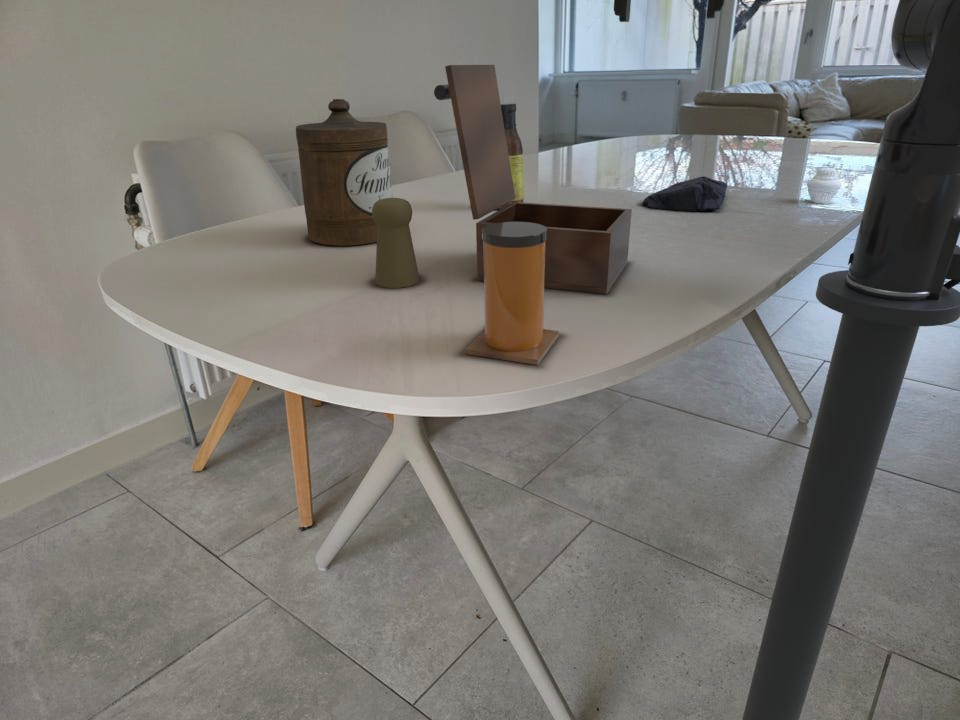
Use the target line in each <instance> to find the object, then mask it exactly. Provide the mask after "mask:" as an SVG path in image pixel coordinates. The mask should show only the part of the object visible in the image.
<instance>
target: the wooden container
mask: <svg viewBox="0 0 960 720" xmlns="http://www.w3.org/2000/svg"><path fill="white" fill-rule="evenodd" d="M327 108H328V110H329V111H330V112H331V113H330V114H329V116H328V117H327V118H326V119H325V120H324V121H322V122H313V123H312V122H311V123H303V124H298V125H295V138H296V143H297V148H298V149H297V153H298V159H299V167H300V178H301V189H302V190H301V191H302V199H303V205H304V214H305V219H306V220H305V221H306V228H307V235H308V239H309V240H310V241H311V242H313V243H315V244H319V245H325V246H333V247H351V246H362V245H369V244H374V243H377V227H378V225H377V224H376V223H375V222H374V220H373V217H372V208H373V205H374V203H375V202H376V201H378V200H381V199H385V198H394V197H393V186H392V185H393V184H392V173H391V163H390V154H389V153H390V152H389V145H388V144H389V143H388V142H389V140H388V137H389V135H388V128H387V123H385V122H381V121H361V120H358V119H356V118H355V117H354V116H353V115H352V114H351V113H350V112H349V111H350V108H351V107H350V102H349V101H347V100H345V99H344V98H333V99H332V101H330V102H329V103H328V105H327Z"/></svg>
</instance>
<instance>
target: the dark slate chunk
mask: <svg viewBox="0 0 960 720" xmlns="http://www.w3.org/2000/svg"><path fill="white" fill-rule="evenodd" d="M727 188H728V183H726V182H724V181H721V180H717V179H713V178H711V177H708V176H704V175H703V176H698V177H695V178H691V179H688V180H683V181H679V182H677V183H674V184H671V185H669V187H666V188H663V189H661V190H658V191H656V192H653V193H651V194H649V195H648V196H646V197H645V198H644V199H643V201H642V205H644V206H647V208H649V209H657V210H658V209H659V210H670V211H681V212H682V211H683V212H716V211H717V210H719V209H721V206H722V205H723V202H724V200H725V197H726V194H727V193H726V192H727Z"/></svg>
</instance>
